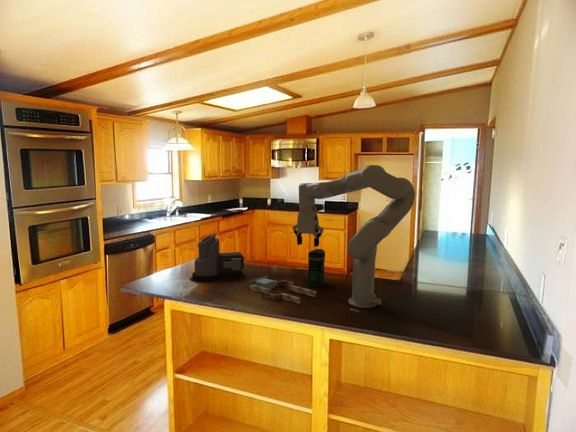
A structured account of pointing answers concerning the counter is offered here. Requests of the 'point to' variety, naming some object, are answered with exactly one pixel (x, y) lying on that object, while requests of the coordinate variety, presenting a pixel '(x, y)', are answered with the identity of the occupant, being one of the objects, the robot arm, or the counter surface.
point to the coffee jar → (316, 267)
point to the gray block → (265, 283)
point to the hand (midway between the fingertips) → (308, 245)
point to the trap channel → (290, 286)
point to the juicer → (216, 262)
